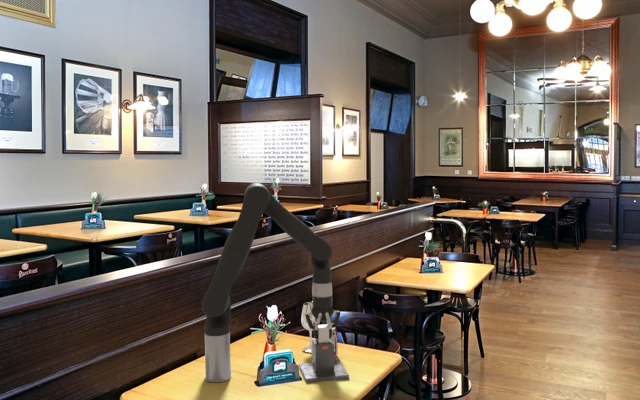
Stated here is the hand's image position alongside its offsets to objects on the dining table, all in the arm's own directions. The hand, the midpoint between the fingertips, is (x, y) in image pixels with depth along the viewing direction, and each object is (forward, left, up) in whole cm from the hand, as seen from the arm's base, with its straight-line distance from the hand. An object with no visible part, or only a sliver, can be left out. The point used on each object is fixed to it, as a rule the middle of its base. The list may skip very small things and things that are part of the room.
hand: (322, 338), depth 216 cm
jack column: (0, 0, -11) cm, 11 cm away
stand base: (0, 0, -13) cm, 13 cm away
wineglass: (0, +26, -13) cm, 29 cm away
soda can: (+6, +17, -13) cm, 22 cm away
